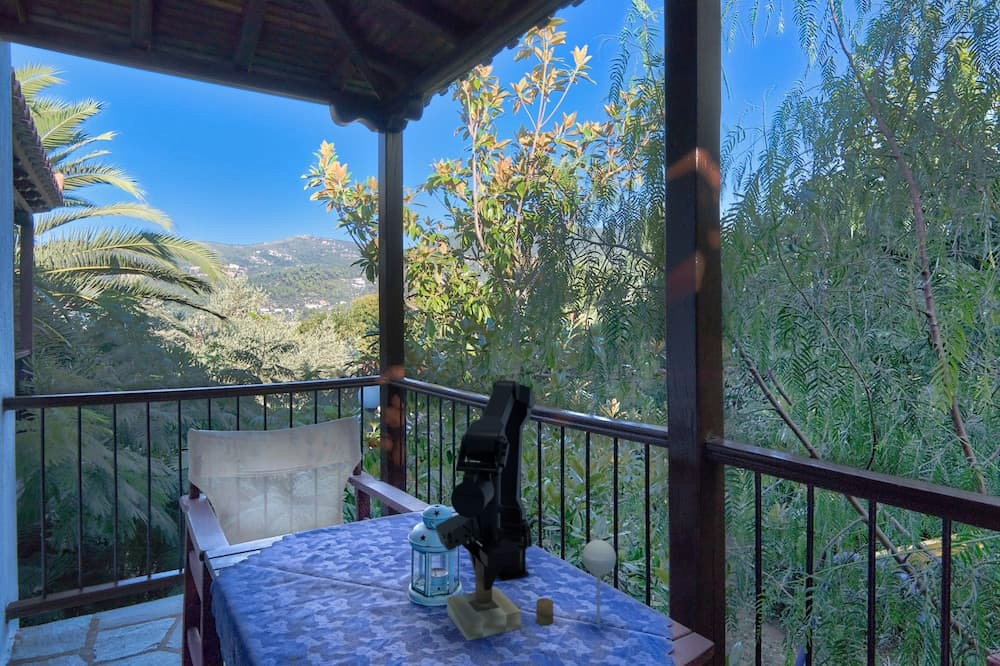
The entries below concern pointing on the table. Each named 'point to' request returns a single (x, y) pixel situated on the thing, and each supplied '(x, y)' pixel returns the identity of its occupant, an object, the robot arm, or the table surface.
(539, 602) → the short pin
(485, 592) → the long pin
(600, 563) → the lollipop
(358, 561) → the table surface
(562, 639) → the table surface
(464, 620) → the bored block
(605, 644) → the table surface
